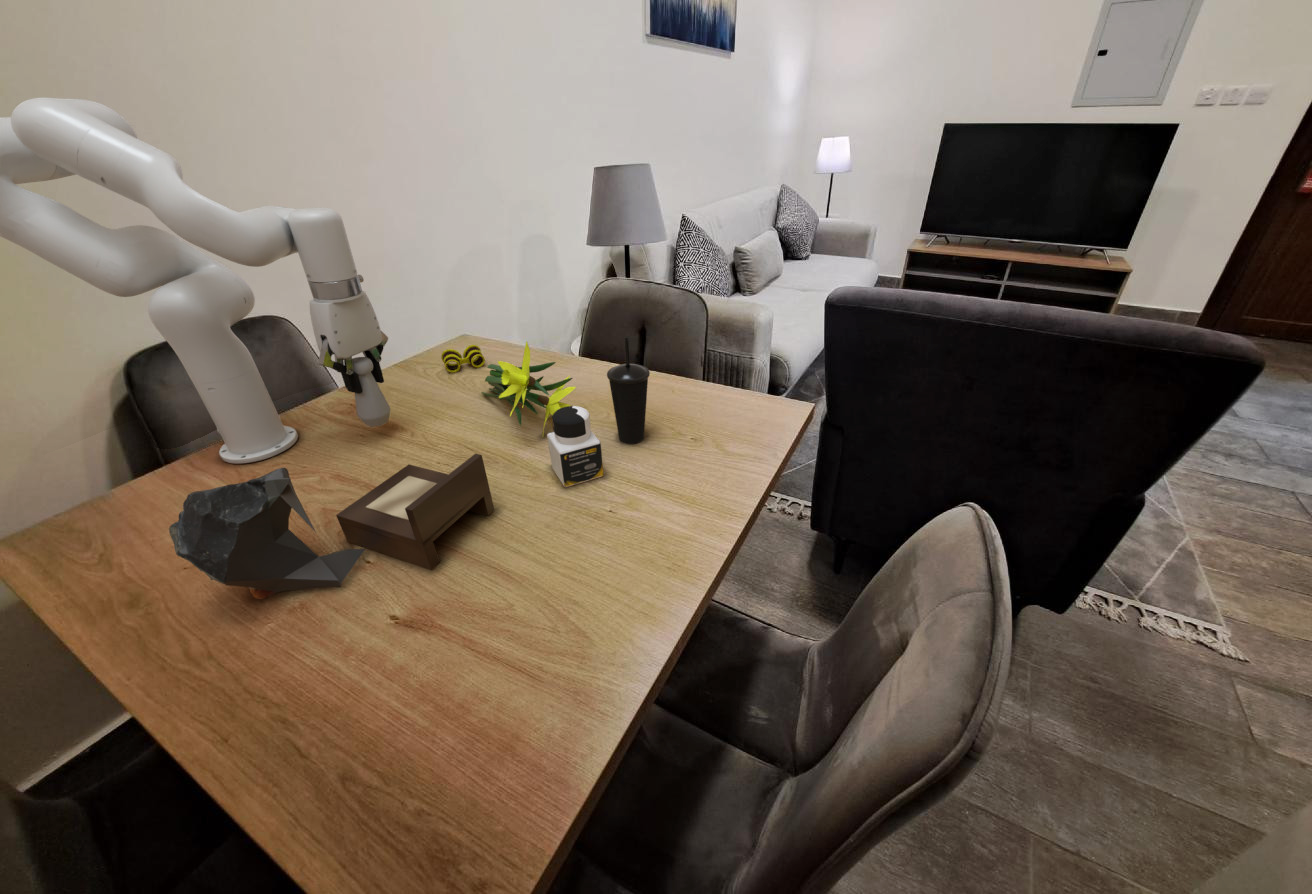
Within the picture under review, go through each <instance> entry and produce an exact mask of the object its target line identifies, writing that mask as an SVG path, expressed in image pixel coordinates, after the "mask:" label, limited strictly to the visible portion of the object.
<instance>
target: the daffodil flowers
mask: <svg viewBox="0 0 1312 894" xmlns="http://www.w3.org/2000/svg"><path fill="white" fill-rule="evenodd" d="M530 364H531V349H530V346H529V342H528V340H526V341H525V345H524V351H523V356H522V362H521V366H517V365H515V364H513V363H510V362H507V361H502V360H497V364H494V363H489V364H488V365H487V367H486V368H487V369H491V370H490V371H489V375H486V377H485V379H484V382H487V383H488V385H490V387H489V388H488V390H489V391H491V392H493V393H495V394H493V393H487V392H484V391H483V392H482V391H481V392H480V393H481V395H483V396H486V397H490V398H495V399H499V400H500V401H501V400H506V401H507V402H508V404H510V405H511V406H512V409H511V411H510V413H509V417H511V416H512V414H513V412H514V411H515V415H516V418H517V421H518V425H519V426H522V421H523V414H522V410H521V409H520V408H519V407H518V406H517V405H518V403H520V404H522V406H521V407H522V409H523V408H524V406H525V407H526V408H527V409H528V410H530V411H531V412H533V413H534V414H535V415H538V416H539V412H538V411H537V409H536V408H535V407H534V406H533V404H532V403H534V404H535V405H537V406H539V407H541V408H544V409H545V411H544V413H545V414H544V415H545V416H544V421H543V429H542V435H541V436H542V438H543V437H544V434H545V431H544V430H545V426H546V423H547V420H548V418H550V415H551V416H552V415H553V414H554V413H555V411H557V410H558V409H560V408H563V407H567V406H572V405H571V404H570V403H564V402H560V401H561V400H563V399H564V398H566V396H568V395H569V394H570V393H571V392H573V391H574V390H575V389H576V388H577V386H568V387H565V385H566V384H567V383H569V382H570V381H572V380H573V377H571V375H568V376H567V377H565V378H564V379H563V380H560V381H558V382H554V383H550V384H545V385H542V384H540V382H541V381H542V380H543V379H544V378H545V376H544V375H542V376H540V377H538V378H536V379H535V377H533V376H531V375H530V373H531V374H532V373H540V372H542V371H544V370H546V369H547V370H548V369H549V368H550V367H552V366H554V365H555V364H556V361H552V362H551V361H550V362H547V363H542V364H536V365H530ZM491 387H493V388H491ZM553 390H555V391H553ZM532 391H538V392H542V393H543V394H545V395H542V394H538V393H535V392H532ZM549 391H553V393H552V394H551V396H550V394H549ZM546 395H547V396H546ZM548 396H549V397H548ZM513 401H514V402H513ZM529 401H530V402H529Z"/></svg>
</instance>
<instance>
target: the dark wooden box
mask: <svg viewBox="0 0 1312 894" xmlns="http://www.w3.org/2000/svg"><path fill="white" fill-rule="evenodd" d="M488 480H489V479H488V475H487V471H486V466H485V463H484V458H483V455H482V454H480V453H474V454H472V455H471V456H470V457H469V458H467V460H465V461H464V462H463V463H461V464H460V465H459V466H457V467H456V468H455V469H453V470H452V471H450V473H444V472H441V471H438V470H433V469H429V468H425V467H421V466H418V465H413V464H407V465H405V466H404V467H403V468H401V469H400V470H399V471H397V472H396V473H394V474H392V475H391V476H389V478H387V479H386V480H384V481H383V482H381V483H379V485H377V486H375V487H374V488H373V489H371V490H370V491H368V492H367V493H365V494H364V495H362V496H361V497H360V498H358V499H357V500H356V501H354V502H352V503H351V504H350V505H348V506H347V507H345V508H344V509H343V510H341V511H340V512H338V513H336V515H335V517H336V519H337V521H338V524H339V525H340V528H341V530H342V533H343V534H344V537H345V539H346V541H347V543H350V544H353V545H356V546H359V547H362V548H366V549H367V550H371V551H374V552H377V553H379V554H383V555H386V556H388V557H391V558H394V559H397V560H401V561H403V562H406V563H410V564H413V565H415V566H419V567H421V568H424V569H428V570H430V571H432V570H434V569H435V568H436V567H437V566H438V565H439V564H440V559H439V556H438V552H437V550H436V546H435V543H434V541H435V540H437V539H438V538H439V537H440V536H441V535H442V534H444V533H445V532H446V531H447V530H448V529H449V528H450V527H451V526H452V525H454V524H455V523H456V522H457V521H458V520H459V519H460V518H461V517H462V516H463V515H465V514H466V513H467V512H472V513H475V514H479V515H482V516H486V517H490V515H492V514H493V513H494V512H495V511H496V509H495V506H494V501H493V497H492V492H491V489H490V483H489V481H488Z"/></svg>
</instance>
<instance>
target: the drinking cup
mask: <svg viewBox="0 0 1312 894" xmlns="http://www.w3.org/2000/svg"><path fill="white" fill-rule="evenodd" d="M629 341H630V339H629V338H628V337H624V354H625V355H624V357H625V363H622V364H619V365H615V366H613V367H611V368H610V369H608V370H607V372H606V378H607V379H608V382H609V387H610V393H611V399H612V404H613V410H614V417H615V423H616V429H617V435H618V439H619V441H620V442H621V443H623V444H627V445H635V444H639V443H641V442H642V441H643V440H644V439H645V429H646V428H645V426H646V415H647V414H646V413H647V400H648V385H649V382H648V381H649V377H650V373H651V372H650V370H649V368H647V367H646V366H644V365H641V364H636V363H630V362H631V361H630V360H631V359H630V344H629V343H630V342H629Z"/></svg>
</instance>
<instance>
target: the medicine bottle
mask: <svg viewBox="0 0 1312 894" xmlns="http://www.w3.org/2000/svg"><path fill="white" fill-rule="evenodd" d="M551 419H552V429H553V431H552V432H547V434H546V438H547V445H548V451H549V458H550V465H551V468H552V470H553V472H554V473H555V474H556V476H557V478H558V480H559V481H560V483H561V484H562V485H563V487H564V488H568V487H569V488H570V487H572V486H576V485H579V484H582V483H585V482H589V481H591V480H592V481H593V480H594V479H595V480H596V479H599V478H602V477H604V466H603V455H602V453H603V452H602V443H601V441H600V439H599V438H598V437H597V436H596V435H595V433H594V432H593V430H592V428H591V417H590V412H589V411H588V410H587V409H586V408H584V407H582V406H579V405H571V406H567V407H563V408H560V409H558V410H557V411H555V413H554V414H553V415H551Z"/></svg>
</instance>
